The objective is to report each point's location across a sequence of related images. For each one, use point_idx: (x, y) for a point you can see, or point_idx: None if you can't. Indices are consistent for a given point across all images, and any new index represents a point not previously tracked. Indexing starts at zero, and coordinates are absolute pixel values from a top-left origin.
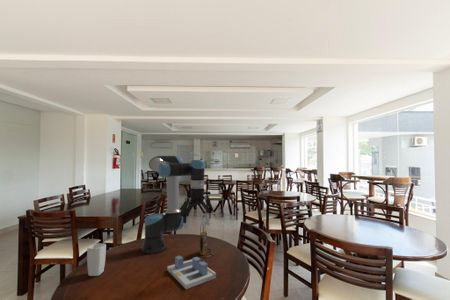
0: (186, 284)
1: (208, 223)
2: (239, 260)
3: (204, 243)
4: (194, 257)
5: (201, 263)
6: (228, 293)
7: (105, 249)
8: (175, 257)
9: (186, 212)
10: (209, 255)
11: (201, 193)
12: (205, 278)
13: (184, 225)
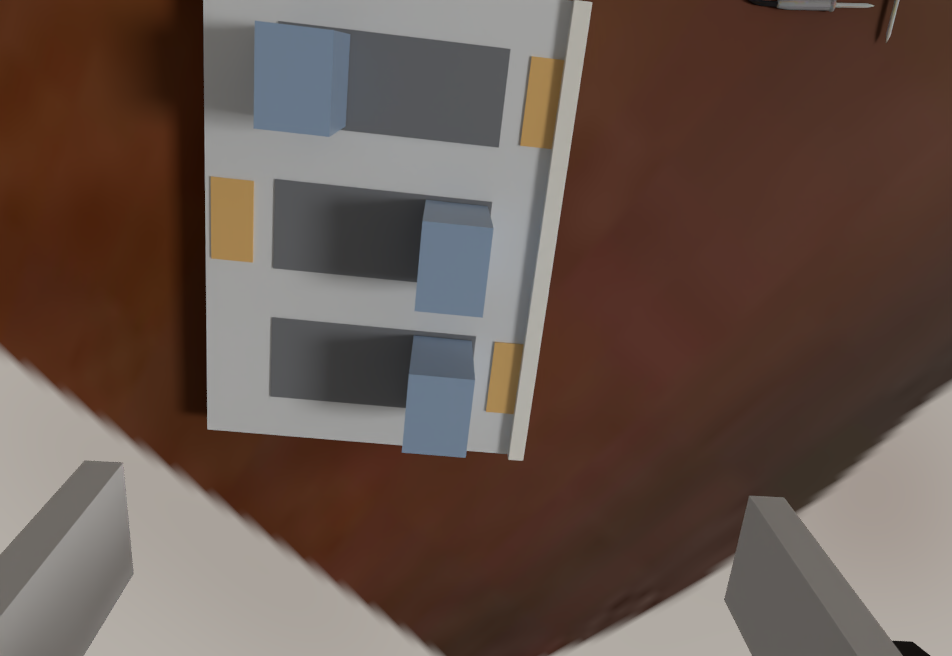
0: (213, 426)
1: (746, 629)
2: (947, 337)
3: None
4: (453, 225)
5: (421, 409)
6: (445, 635)
7: None
8: (256, 30)
9: None
10: (830, 4)
11: None
12: None
13: (43, 525)
